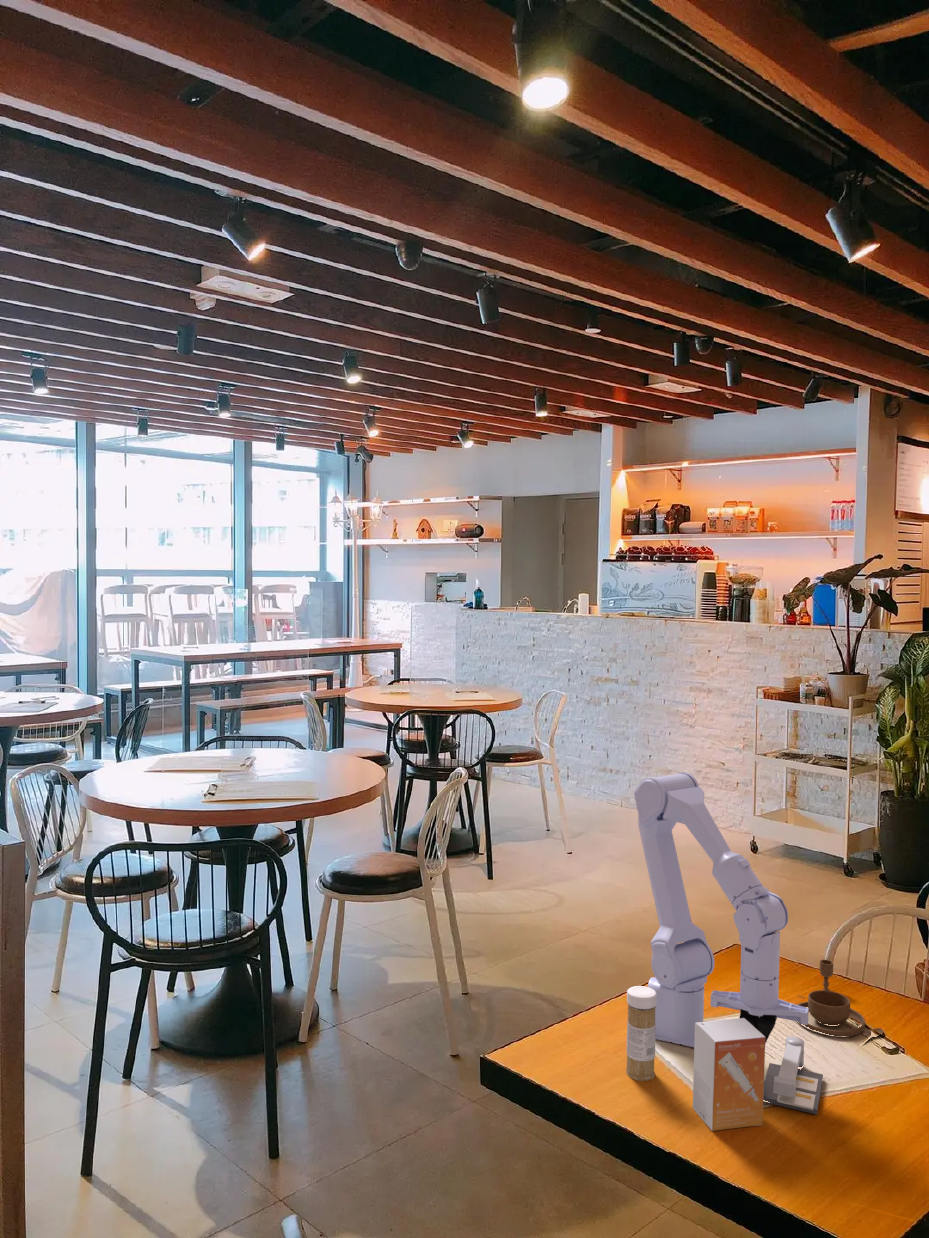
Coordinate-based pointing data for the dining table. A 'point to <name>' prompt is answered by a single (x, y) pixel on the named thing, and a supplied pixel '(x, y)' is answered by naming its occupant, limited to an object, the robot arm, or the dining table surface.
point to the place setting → (832, 1006)
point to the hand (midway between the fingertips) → (757, 1058)
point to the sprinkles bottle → (641, 1033)
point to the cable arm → (789, 1067)
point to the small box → (728, 1073)
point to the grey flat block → (805, 1089)
